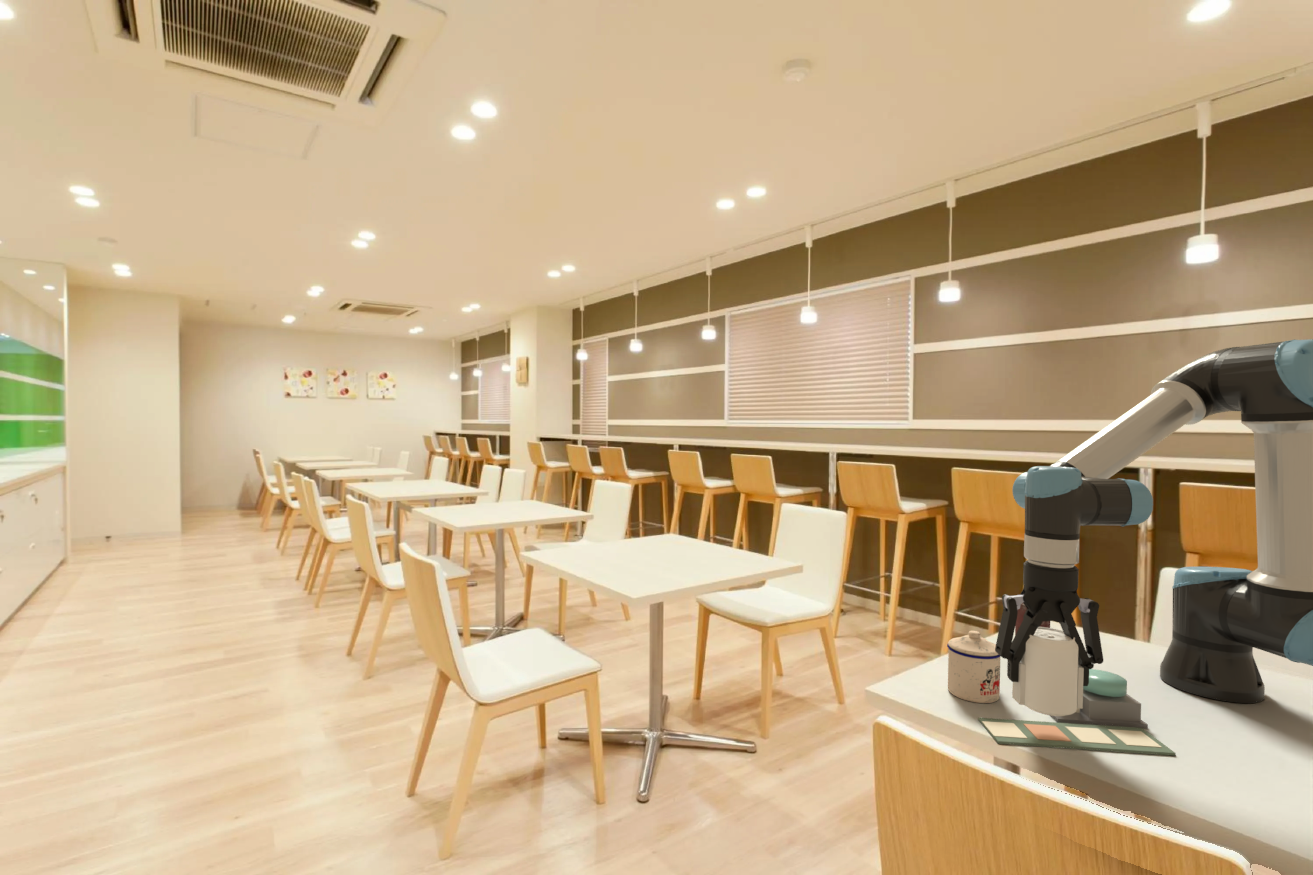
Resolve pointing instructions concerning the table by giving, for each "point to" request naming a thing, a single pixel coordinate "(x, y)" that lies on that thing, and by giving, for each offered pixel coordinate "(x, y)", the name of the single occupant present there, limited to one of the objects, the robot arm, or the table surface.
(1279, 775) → the table surface
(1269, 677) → the table surface
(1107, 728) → the track
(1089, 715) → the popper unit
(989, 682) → the teacup with lid
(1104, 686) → the dome cap
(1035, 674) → the beverage can
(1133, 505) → the robot arm
